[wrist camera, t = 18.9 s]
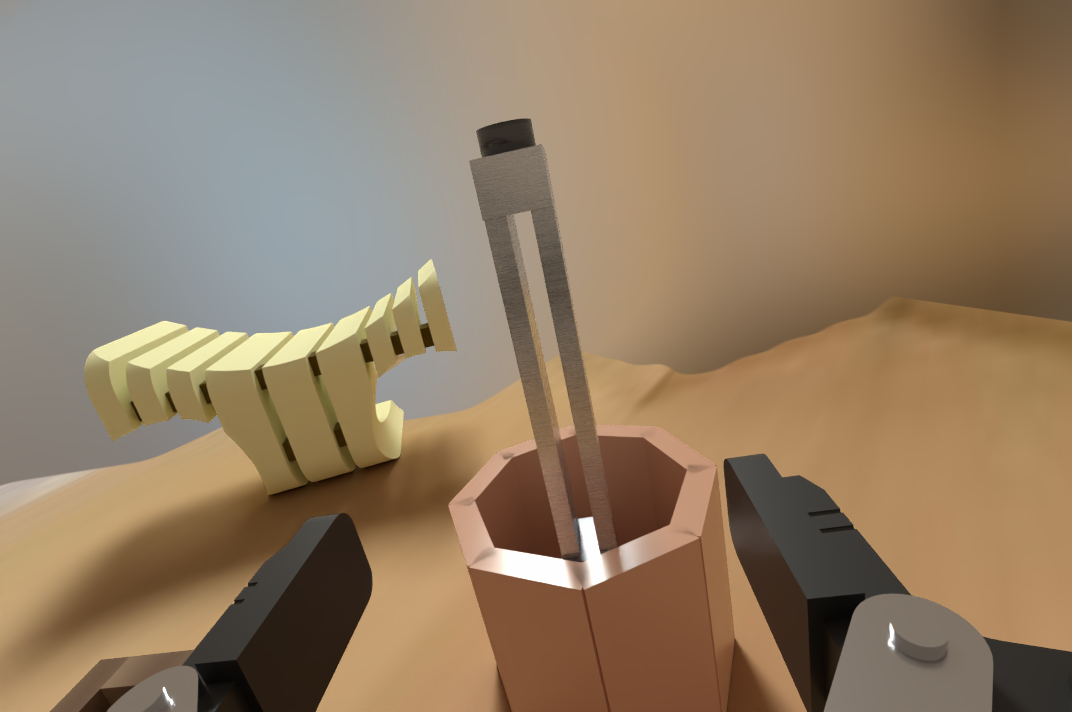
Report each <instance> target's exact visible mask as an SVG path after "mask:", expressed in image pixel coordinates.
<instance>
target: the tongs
mask: <svg viewBox="0 0 1072 712" xmlns="http://www.w3.org/2000/svg"><path fill="white" fill-rule="evenodd" d="M476 132H477V137H478V141H479V145H480V150H481V155H482V158H479V159H475V160H471V161H470V166H471V171H472V175H473V179H474V184H475V188H476V192H477V197H478V201H479V205H480V209H481V214H482V218H483V220H484V221H485V225H486V229H487V233H488V238H489V242H490V247H491V251H492V255H493V260H494V264H495V268H496V272H497V277H498V281H499V286H500V290H501V294H502V299H503V303H504V307H505V312H506V316H507V320H508V324H509V329H510V333H511V338H512V342H513V346H514V350H515V355H516V359H517V364H518V368H519V372H520V377H521V381H522V385H523V390H524V394H525V398H526V403H527V407H528V411H529V416H530V420H531V424H532V429H533V433H534V437H535V442H536V446H537V450H538V455H539V459H540V463H541V468H542V472H543V476H544V481H545V485H546V489H547V494H548V498H549V502H550V507H551V511H552V515H553V520H554V524H555V528H556V533H557V537H558V541H559V546H560V550H561V554H562V559H563V560H569V561H575V562H581V563H582V562H584V561H587V560H589V559H591V558H594V557H596V556H598V555H600V554H603V553H605V552H607V551H610V550H612V549H614V548H617V547H619V545H618V540H617V535H616V529H615V524H614V519H613V514H612V509H611V503H610V498H609V493H608V487H607V482H606V477H605V471H604V466H603V460H602V455H601V450H600V444H599V439H598V434H597V428H596V423H595V418H594V412H593V407H592V402H591V396H590V391H589V385H588V380H587V375H586V369H585V364H584V359H583V353H582V348H581V343H580V337H579V332H578V327H577V321H576V316H575V311H574V305H573V300H572V294H571V289H570V284H569V278H568V273H567V268H566V262H565V257H564V252H563V247H562V242H561V236H560V230H559V225H558V220H557V214H556V209H555V203H554V197H553V192H552V187H551V181H550V176H549V170H548V165H547V159H546V154H545V150H544V148H543V146H542V145H541V144H540V145H536V144H535V139H534V134H533V129H532V123H531V119H516V120H510V121H505V122H500V123H497V124H493V125H489V126H486V127H483V128H481V129H479V130H477V131H476ZM530 210H531V213H532V219H533V224H534V228H535V233H536V238H537V243H538V248H539V253H540V258H541V263H542V268H543V273H544V277H545V283H546V288H547V293H548V298H549V303H550V307H551V313H552V317H553V323H554V327H555V333H556V338H557V343H558V347H559V352H560V357H561V362H562V367H563V372H564V377H565V382H566V387H567V392H568V397H569V402H570V407H571V412H572V417H573V422H574V427H575V432H576V437H577V442H578V447H579V452H580V457H581V462H582V467H583V472H584V477H585V481H586V486H587V491H588V496H589V501H590V506H591V511H592V516H593V517H587V518H579V519H578V516H577V512H576V507H575V502H574V497H573V493H572V488H571V483H570V479H569V474H568V469H567V465H566V460H565V455H564V450H563V446H562V441H561V436H560V432H559V427H558V422H557V417H556V413H555V408H554V403H553V399H552V394H551V389H550V385H549V380H548V375H547V370H546V366H545V361H544V356H543V352H542V347H541V342H540V338H539V333H538V329H537V323H536V320H535V314H534V309H533V305H532V300H531V295H530V290H529V286H528V281H527V276H526V272H525V267H524V263H523V258H522V253H521V248H520V243H519V240H518V234H517V230H516V225H515V220H514V216H513V214H516V213H520V212H525V211H530Z"/></svg>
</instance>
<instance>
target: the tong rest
mask: <svg viewBox="0 0 1072 712" xmlns="http://www.w3.org/2000/svg"><path fill="white" fill-rule="evenodd" d="M193 651H194V650H189V651H179V652H170V653H161V654H151V655H142V656H133V657H123V658H114V659H105V660H100V661H99V662H98V663H97V664H96V665H95V666H94V667H93V668H92V669H91V670H90V671H89V672H88V674H87V675H86V676H85V677H84V678H83V679H82V680H81V681H80V682H79V683H78V684H77V685H76V686H75V687H74V688H73V689H72V690H71V691H70V692H69V693H68V694H67V695H66V696H65V697H64V698H63V699H62V700H61V701H60V702H59V703H58V704H57V705H56V706H55V707H54V708H53V709H52V710H51V711H50V712H107V711H108V709H109V708H110V707H111V706H112V705H113V704H114V703H115V702H116V701H117V700H118V699H120V698H121V697H122V696H123V695H124V694H125V693H127V692H128V691H129V690H130V689H132V688H133V687H134V686H136V685H137V684H139V683H140V682H142V681H143V680H145V679H147V678H149V677H150V676H152V675H154V674H156V673H158V672H161V671H163V670H166V669H168V668H172V667H176V666H182V665H183V663H184V662H185V661H186V660H187V658H188V657H189V656H190V655H191V653H192V652H193Z"/></svg>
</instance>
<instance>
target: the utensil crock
mask: <svg viewBox="0 0 1072 712" xmlns="http://www.w3.org/2000/svg"><path fill="white" fill-rule="evenodd" d="M596 428H597V434H598V439H599V444H600V450H601V455H602V460H603V466H604V471H605V477H606V482H607V487H608V493H609V498H610V503H611V509H612V514H613V519H614V524H615V529H616V535H617V540H618V545H619V547H617V548H614V549H612V550H610V551H607V552H605V553H603V554H600V555H598V556H596V557H594V558H591V559H589V560H587V561H584V562H582V563H581V562H575V561H569V560H563V559H562V554H561V550H560V546H559V541H558V537H557V533H556V528H555V524H554V520H553V515H552V511H551V507H550V502H549V498H548V494H547V489H546V485H545V481H544V476H543V472H542V468H541V463H540V459H539V455H538V450H537V446H536V442H535V438H534V439H531V440H528V441H525V442H522V443H520V444H517V445H514V446H511V447H508V448H505V449H503V450H500V451H499V452H496V453H495V455H494V456H493V457H492V458H491V459H490V460H489V461H488V462H487V463H486V464H485V465H484V466H483V467H482V468H481V470H480V471H479V472H478V473H477V474H476V475H475V476H474V477H473V478H472V479H471V480H470V481H469V482H468V483H467V485H466V486H465V487H464V488H463V489H462V490H461V491H460V492H459V493H458V494H457V495H456V496H455V497H454V498H453V500H452V501H451V502H450V503H449V505H448V506H449V510H450V513H451V516H452V520H453V523H454V526H455V529H456V533H457V536H458V539H459V542H460V546H461V549H462V552H463V555H464V559H465V562H466V565H467V569H468V572H469V575H470V578H471V582H472V585H473V588H474V591H475V595H476V598H477V601H478V604H479V608H480V611H481V614H482V617H483V621H484V624H485V627H486V631H487V634H488V637H489V640H490V644H491V647H492V650H493V653H494V657H495V660H496V663H497V666H498V670H499V673H500V676H501V679H502V682H503V686H504V689H505V692H506V695H507V699H508V702H509V705H510V708H511V711H512V712H727V703H728V695H729V686H730V677H731V669H732V660H733V651H734V643H735V635H734V625H733V615H732V606H731V596H730V587H729V577H728V567H727V558H726V548H725V539H724V529H723V520H722V510H721V500H720V491H719V481H718V472H717V466H716V464H714V463H713V462H711V461H710V460H708V459H707V458H705V457H704V456H702V455H701V454H699V453H698V452H696V451H695V450H693V449H692V448H690V447H689V446H687V445H686V444H684V443H683V442H681V441H680V440H678V439H677V438H675V437H674V436H672V435H671V434H669V433H668V432H666V431H665V430H663V429H662V428H660V427H657V426H630V425H598V424H596ZM559 432H560V436H561V441H562V446H563V450H564V455H565V460H566V465H567V469H568V474H569V479H570V483H571V488H572V493H573V497H574V502H575V507H576V512H577V516H578V519H579V518H587V517H593V516H592V511H591V506H590V501H589V496H588V491H587V486H586V481H585V477H584V472H583V467H582V462H581V457H580V452H579V447H578V442H577V437H576V432H575V427H574V425H571V426H568V427H565V428H562V429H559Z"/></svg>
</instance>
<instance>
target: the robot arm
mask: <svg viewBox="0 0 1072 712" xmlns="http://www.w3.org/2000/svg"><path fill="white" fill-rule="evenodd" d="M724 476H725V486H726V497H727V507H728V517H729V526H730V531H731V536H732V540H733V544H734V547H735V550H736V553H737V556H738V558H739V560H740V563H741V565H742V567H743V569H744V572H745V574H746V576H747V578H748V581H749V583H750V585H751V587H752V590H753V592H754V594H755V596H756V598H757V601H758V603H759V605H760V607H761V610H762V612H763V614H764V616H765V619H766V621H767V623H768V625H769V627H770V630H771V632H772V634H773V636H774V639H775V641H776V643H777V645H778V648H779V650H780V652H781V654H782V657H783V659H784V661H785V663H786V665H787V668H788V670H789V672H790V674H791V677H792V679H793V681H794V683H795V686H796V688H797V690H798V692H799V694H800V697H801V699H802V701H803V703H804V706H805V708H806V710H807V712H1072V652H1069V651H1062V650H1056V649H1050V648H1043V647H1037V646H1031V645H1024V644H1018V643H1012V642H1005V641H1000V640H995V639H990V638H986V637H983V636H982V635H981V634H980V633H979V632H978V631H977V630H976V629H975V628H974V627H973V626H972V625H971V624H970V623H969V622H968V621H966V620H965V619H963V618H962V617H961V616H959V615H958V614H956V613H955V612H953V611H951V610H949V609H948V608H946V607H944V606H941V605H939V604H937V603H935V602H932V601H929V600H927V599H923V598H920V597H916V596H912V595H911V594H910V593H909V592H908V591H907V590H906V588H905V587H904V586H903V585H902V583H901V582H900V581H899V580H898V579H897V577H896V576H895V575H894V574H893V573H892V571H891V570H890V569H889V568H888V567H887V565H886V564H885V563H884V562H883V560H882V559H881V558H880V557H879V556H878V554H877V553H876V552H875V551H874V550H873V548H872V547H871V546H870V545H869V544H868V542H867V541H866V540H865V539H864V537H863V536H862V535H861V534H860V533H859V531H858V530H857V529H854V527H853V524H852V523H851V522H850V521H849V519H848V518H847V517H846V516H845V515H844V513H841V512H840V508H839V507H838V506H837V505H836V504H835V502H834V501H833V500H832V499H831V498H830V496H829V495H828V494H827V493H826V492H825V490H824V489H822V488H820V487H818V486H817V485H815V484H813V483H812V482H810V481H808V480H807V479H805V478H803V477H801V476H800V475H798V476H791V477H783V478H782V477H781V475H780V474H779V472H778V471H777V470H776V468H775V467H774V466H773V464H772V463H771V461H770V460H769V459H768V457H767V456H766V455H765V454H757V455H749V456H742V457H735V458H728V459H725V460H724ZM371 592H372V572H371V568H370V565H369V563H368V560H367V557H366V555H365V552H364V550H363V547H362V544H361V542H360V539H359V536H358V534H357V531H356V529H355V526H354V523H353V521H352V519H351V518H350V516H349V515H347V514H345V513H341V514H334V515H326V516H319V517H312V518H309V519H308V520H307V521H306V522H305V523H304V524H303V526H302V527H301V528H300V529H299V531H298V532H297V533H296V535H295V536H294V537H293V538H292V540H291V541H290V542H289V543H288V544H287V545H286V546H285V547H283V548H282V549H281V550H280V551H278V552H277V553H276V554H275V555H274V556H272V557H271V558H270V559H269V560H267V561H266V562H265V563H264V564H263V565H262V566H261V568H260V569H259V570H258V571H257V573H256V574H255V575H254V576H253V578H252V579H251V580H250V581H249V583H248V587H245V588H244V589H243V590H242V591H241V593H240V594H239V595H238V596H237V598H236V599H235V600H234V601H235V603H234V604H232V605H230V606H229V607H228V609H227V610H226V611H225V612H224V614H223V615H222V616H221V617H220V619H219V620H218V621H217V622H216V624H215V625H214V626H213V627H212V629H211V630H210V631H209V632H208V634H207V635H206V636H205V637H204V638H203V640H202V641H201V642H200V643H199V645H198V646H197V647H196V648H195V650H194V651H193V652H192V653H191V655H190V656H189V657H188V658H187V660H186V661H185V662H184V663H183V665H182V666H176V667H172V668H168V669H166V670H163V671H161V672H158V673H156V674H154V675H152V676H150V677H149V678H147V679H145V680H143V681H142V682H140V683H139V684H137V685H136V686H134V687H133V688H132V689H130V690H129V691H128V692H127V693H125V694H124V695H123V696H122V697H121V698H120V699H118V700H117V701H116V702H115V703H114V704H113V705H112V706H111V707H110V708H109V709H108V711H107V712H316V710H317V707H318V705H319V703H320V701H321V699H322V697H323V695H324V693H325V691H326V689H327V687H328V685H329V683H330V680H331V678H332V676H333V674H334V672H335V670H336V668H337V666H338V664H339V662H340V660H341V658H342V656H343V654H344V651H345V649H346V647H347V645H348V643H349V641H350V639H351V637H352V635H353V633H354V631H355V629H356V627H357V625H358V622H359V620H360V618H361V616H362V614H363V612H364V610H365V608H366V606H367V604H368V602H369V599H370V596H371Z"/></svg>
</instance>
